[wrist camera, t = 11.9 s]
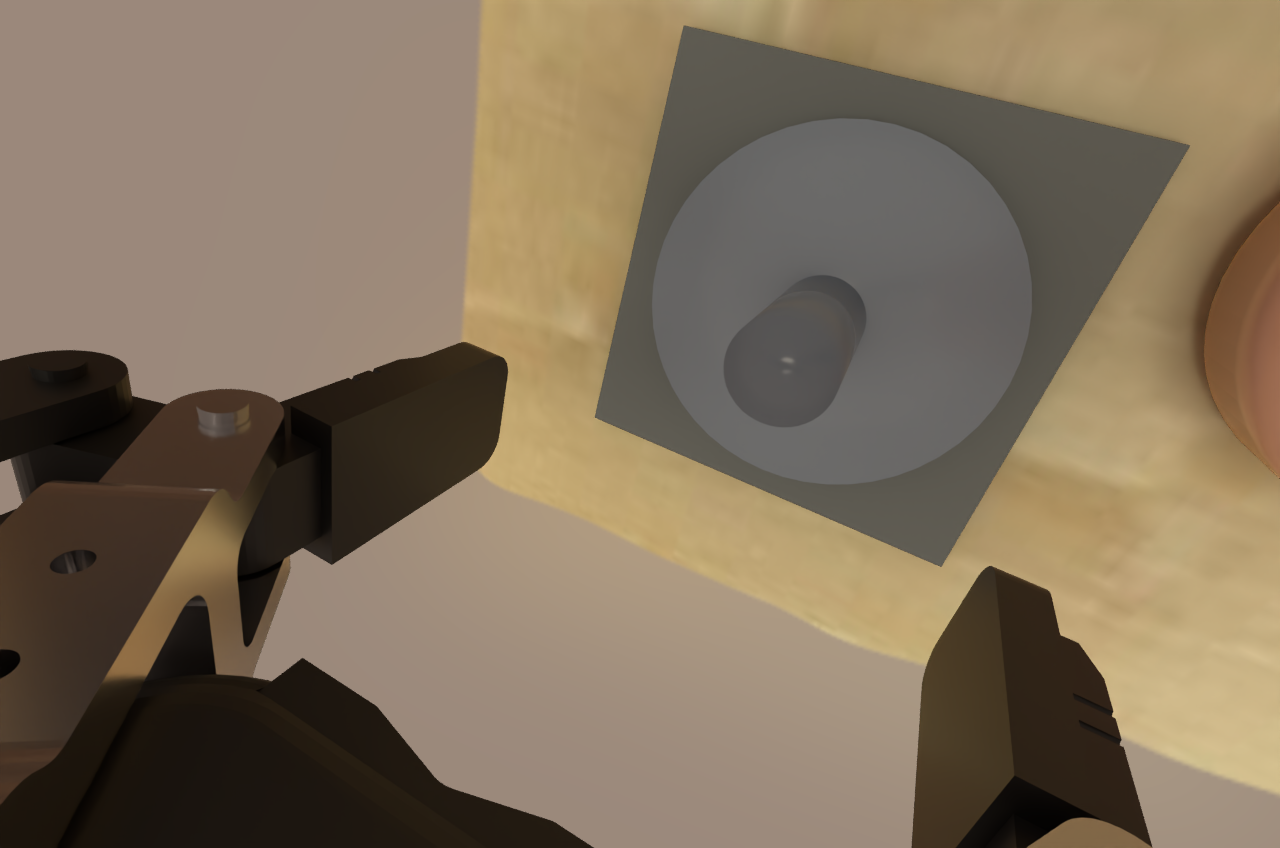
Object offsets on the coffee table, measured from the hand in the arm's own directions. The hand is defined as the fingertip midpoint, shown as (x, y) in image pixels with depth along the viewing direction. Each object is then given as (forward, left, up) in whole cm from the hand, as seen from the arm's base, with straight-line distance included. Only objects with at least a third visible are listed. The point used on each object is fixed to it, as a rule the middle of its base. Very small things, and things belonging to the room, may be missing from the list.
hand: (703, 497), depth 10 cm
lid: (0, 0, -13) cm, 13 cm away
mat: (0, 0, -14) cm, 14 cm away
